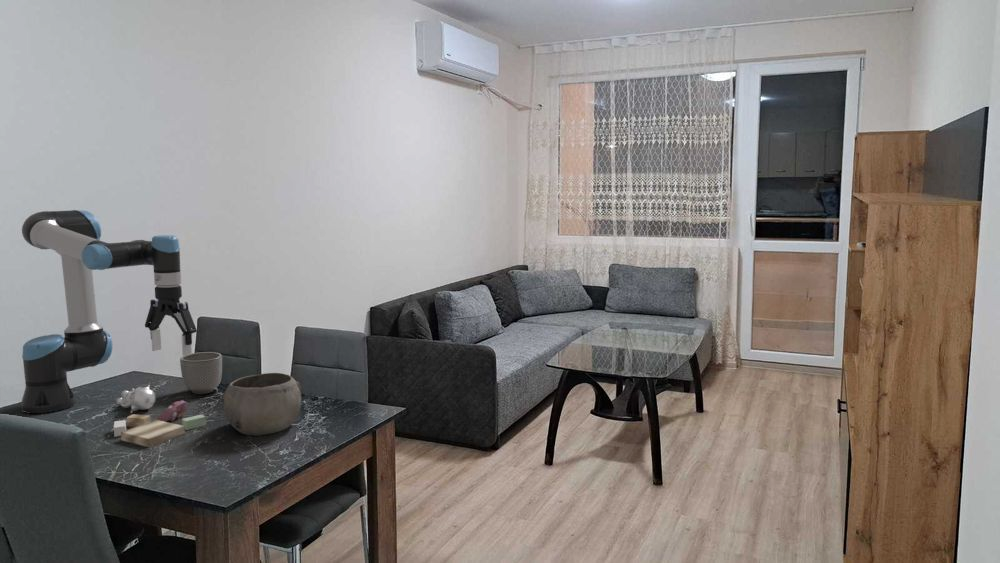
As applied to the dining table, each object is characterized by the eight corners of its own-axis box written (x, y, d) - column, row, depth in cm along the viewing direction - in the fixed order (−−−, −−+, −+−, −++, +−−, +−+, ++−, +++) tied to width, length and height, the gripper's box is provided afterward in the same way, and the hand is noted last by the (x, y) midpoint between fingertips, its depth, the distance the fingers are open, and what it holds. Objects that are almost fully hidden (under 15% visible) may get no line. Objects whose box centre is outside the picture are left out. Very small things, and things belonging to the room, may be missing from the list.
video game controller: (166, 429, 220) (174, 410, 219) (154, 422, 221) (162, 403, 219) (186, 419, 230) (194, 401, 228) (174, 412, 230) (182, 394, 229)
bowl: (281, 409, 235) (279, 365, 233) (316, 427, 219) (315, 380, 217) (212, 426, 219) (209, 379, 217) (245, 446, 203) (242, 395, 201)
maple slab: (121, 440, 206) (120, 432, 206) (157, 427, 217) (156, 419, 217) (149, 447, 201) (148, 438, 201) (184, 434, 212) (184, 426, 211)
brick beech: (127, 426, 218) (126, 417, 218) (133, 423, 221) (132, 414, 221) (144, 428, 217) (144, 418, 217) (150, 424, 220) (150, 415, 220)
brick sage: (186, 430, 215) (185, 421, 215) (182, 428, 217) (181, 418, 217) (206, 426, 220) (205, 416, 219) (201, 423, 222) (201, 414, 221)
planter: (214, 397, 247) (212, 361, 245) (174, 397, 247) (172, 361, 246) (229, 386, 261) (228, 352, 259) (192, 385, 261) (190, 351, 259)
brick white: (115, 430, 215) (114, 421, 214) (126, 429, 216) (125, 420, 215) (114, 437, 209) (113, 427, 209) (125, 435, 211) (125, 426, 210)
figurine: (124, 380, 240) (149, 378, 231) (142, 391, 244) (166, 390, 236) (106, 407, 234) (130, 407, 225) (124, 418, 238) (149, 418, 230)
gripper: (129, 284, 221) (134, 350, 224) (186, 290, 210) (190, 359, 213) (150, 281, 228) (154, 345, 231) (206, 287, 217) (210, 354, 220)
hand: (171, 352), depth 222 cm, fingers open, 13 cm apart
